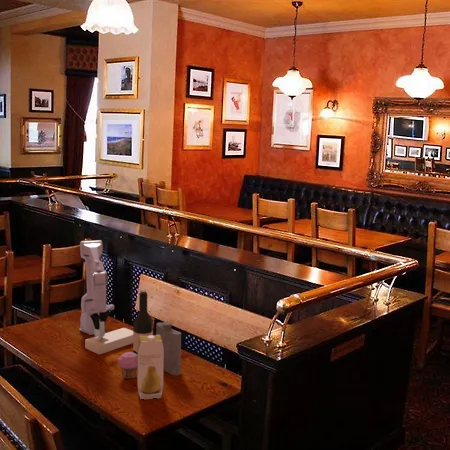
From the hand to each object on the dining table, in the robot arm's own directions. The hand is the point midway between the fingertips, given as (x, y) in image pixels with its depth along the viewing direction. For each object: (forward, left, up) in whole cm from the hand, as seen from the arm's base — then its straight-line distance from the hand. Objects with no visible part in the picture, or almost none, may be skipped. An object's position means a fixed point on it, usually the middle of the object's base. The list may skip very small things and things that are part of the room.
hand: (99, 328), depth 266 cm
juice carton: (+49, -14, -10) cm, 52 cm away
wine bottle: (+21, +7, -10) cm, 24 cm away
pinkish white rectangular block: (0, 0, -3) cm, 3 cm away
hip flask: (+36, +7, -10) cm, 38 cm away
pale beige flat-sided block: (0, +7, -9) cm, 11 cm away
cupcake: (+31, -9, -10) cm, 34 cm away
